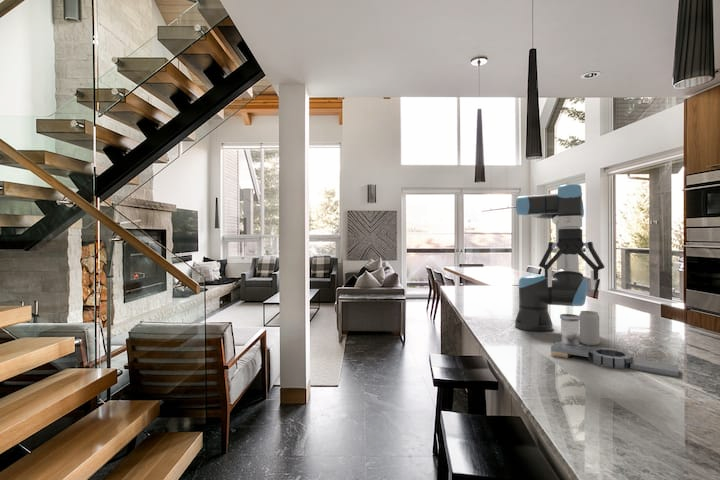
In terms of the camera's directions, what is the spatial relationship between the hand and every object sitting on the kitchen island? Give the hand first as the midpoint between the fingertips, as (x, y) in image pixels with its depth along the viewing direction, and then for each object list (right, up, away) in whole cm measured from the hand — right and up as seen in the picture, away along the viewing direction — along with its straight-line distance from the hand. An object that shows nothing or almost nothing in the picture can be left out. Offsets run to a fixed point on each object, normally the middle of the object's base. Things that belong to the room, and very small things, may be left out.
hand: (570, 288), depth 135 cm
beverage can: (+11, -22, +7) cm, 25 cm away
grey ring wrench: (+5, -22, -14) cm, 27 cm away
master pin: (0, -22, 0) cm, 22 cm away
